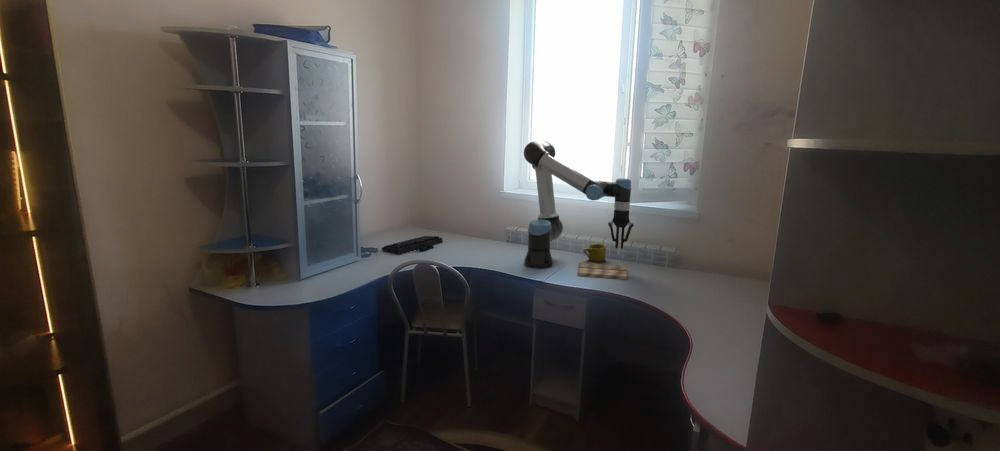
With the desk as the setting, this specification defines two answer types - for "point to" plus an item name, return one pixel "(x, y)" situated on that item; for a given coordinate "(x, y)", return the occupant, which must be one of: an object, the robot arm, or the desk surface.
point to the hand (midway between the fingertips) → (618, 254)
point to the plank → (602, 266)
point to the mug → (596, 252)
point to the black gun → (414, 244)
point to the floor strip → (602, 273)
